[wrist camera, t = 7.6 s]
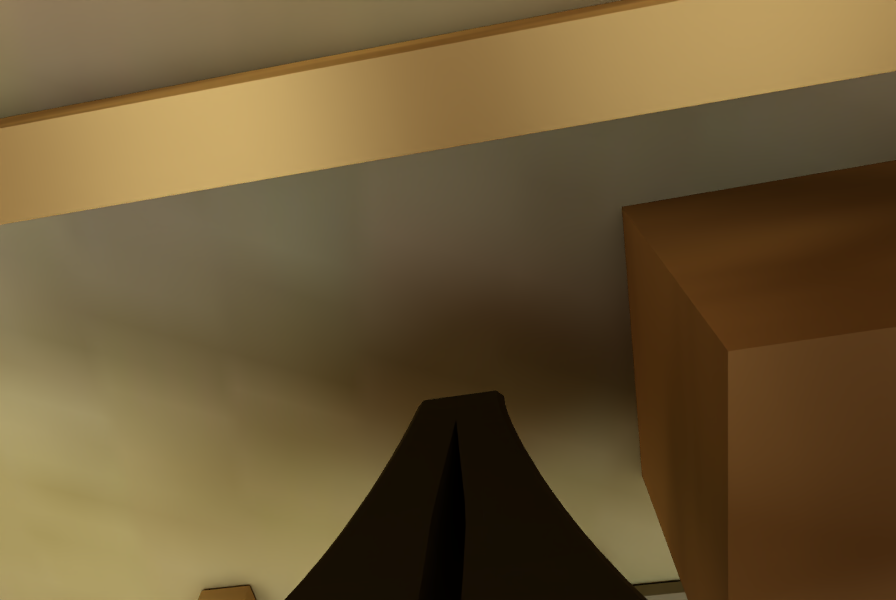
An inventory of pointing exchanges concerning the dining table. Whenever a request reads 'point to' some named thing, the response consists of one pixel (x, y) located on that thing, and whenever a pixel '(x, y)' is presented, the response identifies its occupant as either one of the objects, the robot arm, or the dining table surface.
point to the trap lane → (433, 103)
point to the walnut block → (770, 383)
